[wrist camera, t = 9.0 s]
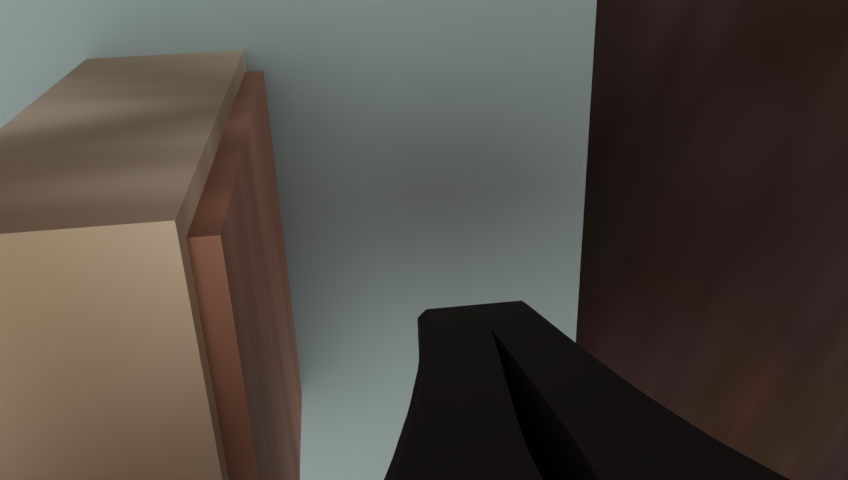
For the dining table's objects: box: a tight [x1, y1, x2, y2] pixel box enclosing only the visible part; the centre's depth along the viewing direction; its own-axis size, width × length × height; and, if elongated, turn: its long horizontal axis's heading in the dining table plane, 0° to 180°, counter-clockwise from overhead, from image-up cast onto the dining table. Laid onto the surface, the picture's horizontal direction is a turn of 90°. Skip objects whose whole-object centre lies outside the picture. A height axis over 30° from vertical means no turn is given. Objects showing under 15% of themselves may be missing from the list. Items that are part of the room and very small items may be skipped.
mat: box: [0, 0, 597, 480], centre depth 14 cm, size 17×14×1 cm
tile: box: [0, 50, 302, 480], centre depth 11 cm, size 3×7×7 cm, turn 2°
